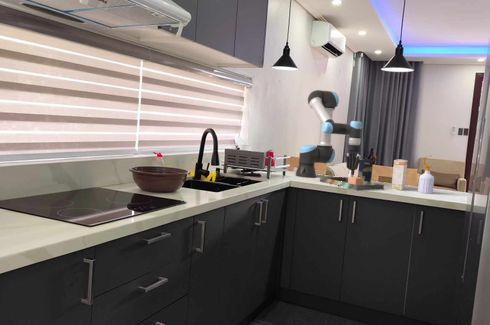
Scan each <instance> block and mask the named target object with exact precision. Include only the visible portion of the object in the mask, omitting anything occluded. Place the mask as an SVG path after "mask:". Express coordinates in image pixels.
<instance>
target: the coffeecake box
mask: <svg viewBox="0 0 490 325" xmlns="http://www.w3.org/2000/svg"><path fill="white" fill-rule="evenodd" d="M408 161H409V160H407V159H399V158H398V159H394V160H393V169H392V177H391V178H392V179H391V185H390V186H391V188H390V190H394V189H396V190H397V191H403V190H404V189H405V188H406V179H407V170H408ZM396 190H395V191H396Z"/></svg>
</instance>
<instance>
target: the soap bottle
mask: <svg viewBox="0 0 490 325" xmlns="http://www.w3.org/2000/svg"><path fill="white" fill-rule="evenodd" d="M429 157H431V155H427V156H424V157H423V167H425V168H426V169H424V173H422V174H421V175H419V178H418V179H419V180H418V184H417V185H418V186H417V192H418V193H421V194H428V195H431V194H433V193H434V185H435V176H433V175H432V174H431V170H430V168H431V167H433V165H427V164H426V159H427V158H429Z"/></svg>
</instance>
